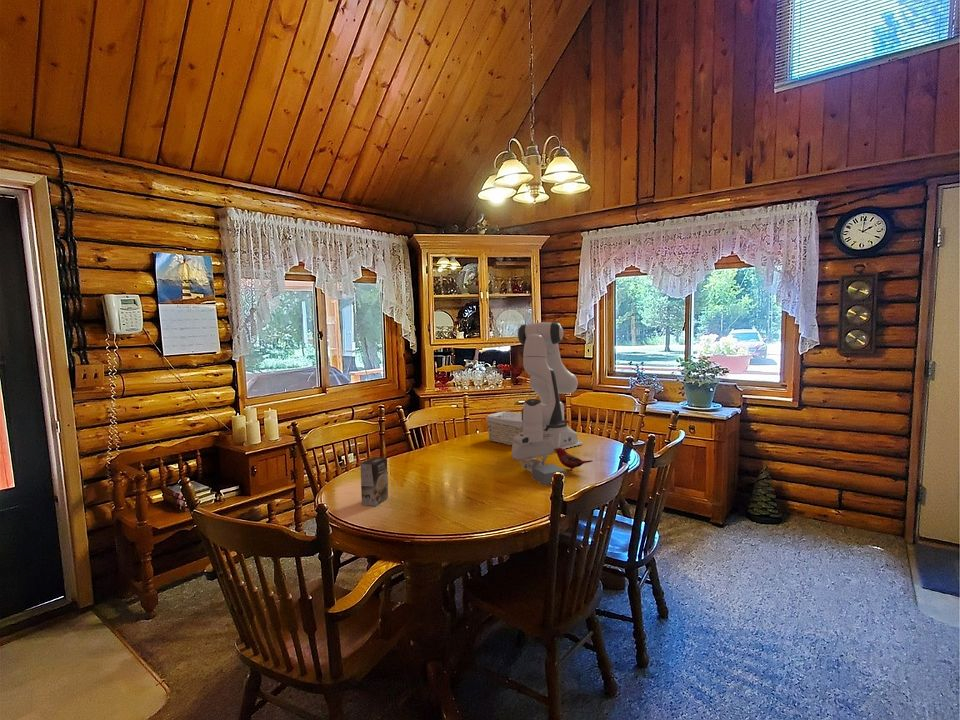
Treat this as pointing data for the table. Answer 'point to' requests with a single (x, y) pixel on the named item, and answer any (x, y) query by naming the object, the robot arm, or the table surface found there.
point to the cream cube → (532, 463)
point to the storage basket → (504, 426)
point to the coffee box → (374, 481)
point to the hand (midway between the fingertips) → (533, 466)
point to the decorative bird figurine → (569, 459)
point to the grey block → (545, 473)
